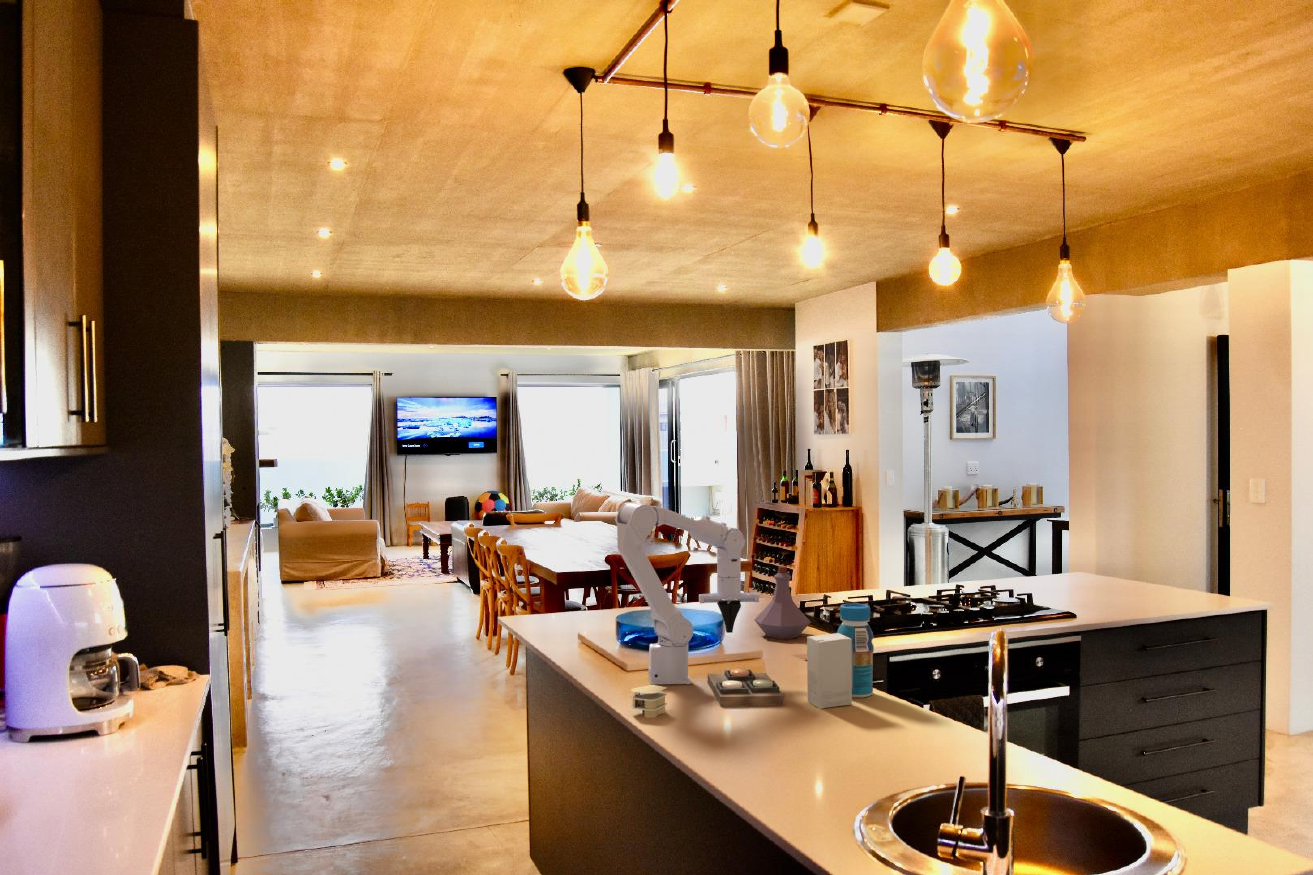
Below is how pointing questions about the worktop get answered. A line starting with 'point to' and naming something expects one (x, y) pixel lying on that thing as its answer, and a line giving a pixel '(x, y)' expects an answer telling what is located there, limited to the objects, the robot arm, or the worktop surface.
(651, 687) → the beige layered block
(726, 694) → the button board
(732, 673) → the terracotta button
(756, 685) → the sage button
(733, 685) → the cream button
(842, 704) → the skincare box
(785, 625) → the flask
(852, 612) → the beverage bottle
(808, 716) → the worktop surface
